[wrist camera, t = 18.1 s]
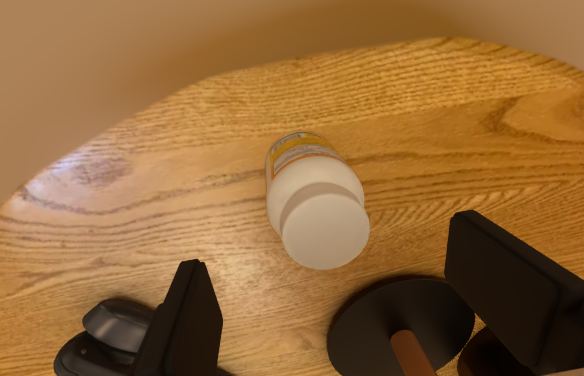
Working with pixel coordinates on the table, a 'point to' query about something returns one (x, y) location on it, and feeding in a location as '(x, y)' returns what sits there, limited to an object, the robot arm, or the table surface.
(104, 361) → the can opener
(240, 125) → the table surface
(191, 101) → the table surface
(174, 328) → the robot arm
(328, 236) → the supplement bottle
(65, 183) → the table surface
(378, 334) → the pot lid
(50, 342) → the table surface
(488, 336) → the pot
